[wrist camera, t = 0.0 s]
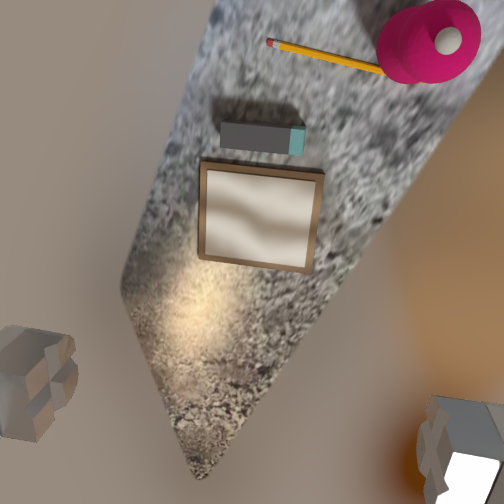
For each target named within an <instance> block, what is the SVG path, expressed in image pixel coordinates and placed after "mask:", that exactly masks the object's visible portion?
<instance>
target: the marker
mask: <svg viewBox="0 0 504 504" xmlns="http://www.w3.org/2000/svg"><path fill="white" fill-rule="evenodd" d="M305 133H306V126H295V125H285V124H274V123H263V122H253V121H242V120H232V119H225V120H224V121H222V122H221V129H220V148H229V149H239V150H249V151H259V152H268V153H278V154H288V155H297V156H302V154H303V151H304V142H305Z"/></svg>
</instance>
